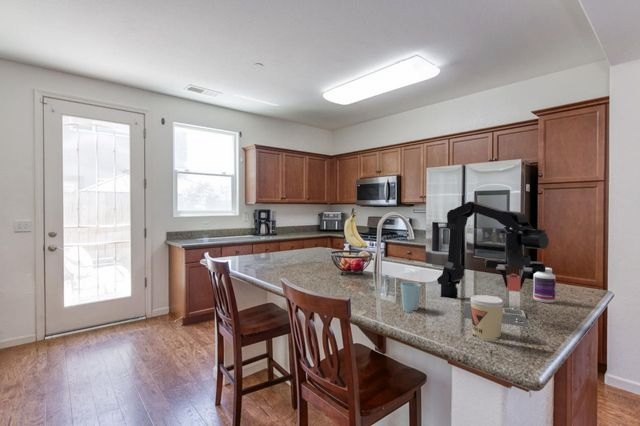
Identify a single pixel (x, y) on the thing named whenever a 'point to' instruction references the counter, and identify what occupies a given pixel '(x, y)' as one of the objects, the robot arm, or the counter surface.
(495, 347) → the counter surface
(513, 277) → the red block with knob
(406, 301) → the cup
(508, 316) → the panel
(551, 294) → the pill bottle
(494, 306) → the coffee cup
